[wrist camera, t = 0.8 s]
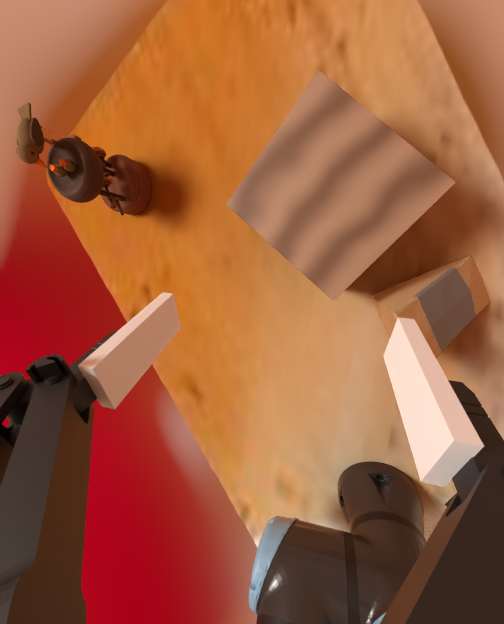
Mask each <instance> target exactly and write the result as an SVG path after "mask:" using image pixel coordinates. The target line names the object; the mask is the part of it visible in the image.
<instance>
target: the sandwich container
mask: <svg viewBox="0 0 504 624" xmlns="http://www.w3.org/2000/svg"><path fill="white" fill-rule="evenodd" d="M371 298H372V300H373V303H374V305H375V307H376V309H377V311H378V314H379V316H380V318H381V320H382V322H383V325H384V327H385V329H386V331H387V333H388V336H389V337H391V335H392V332H393V329H394V327H395V324H396V321H397V319H398V317H399V318H408V319H414V320H415V321H416V323H417V325H418V327H419V329H420V330H421V332H422V334H423V336H424V338H425V340H426V341H427V343H428V345H429V347H430V349H431V350H432V352H433V354H434V356H435V358H437V357H438V356H439V355H440V353H441V352H442V351H443V350H444V349H445V348H446V347H447V346H448V345H449V344H450V342H451V341H452V340H453V339H454V338H455V337H456V336H457V335H458V334H459V333H460V332H461V331H462V330H463V329H464V328H465V327H466V326H467V325H468V324H469V323H470V322H471V321H472V319H473V318H474V317H475V316H476V315H477V314H478V313H479V312H480V311H482V310H483V309H484V308H485V307H486V306H487V305H488V304H489V303H490V299H489V296H488V293H487V291H486V288H485V285H484V282H483V279H482V277H481V275H480V273H479V271H478V269H477V267H476V264H475V262H474V260H473V258H472V256H471V255H469V256H467V257H464V258H462V259H459V260H456V261H454V262H451V263H449V264H446V265H443V266H441V267H438V268H436V269H433V270H430V271H428V272H425V273H423V274H421V275H420V276H419V275H418V276H417V277H416V276H415V278H414V277H413V278H410V280H409V279H408V280H406V281H405V282H404V281H403V282H401V283H398V284H396V285H394V286H392V287H389V288H387V289H385V290H383V291H381V292H378V293H376V294H374V295H372V296H371Z"/></svg>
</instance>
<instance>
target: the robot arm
mask: <svg viewBox="0 0 504 624" xmlns="http://www.w3.org/2000/svg"><path fill="white" fill-rule="evenodd" d="M180 329H181V325H180V321H179V316H178V312H177V308H176V304H175V299H174V295H173V294H171V293H162V294H160V295H159V296H158V297H157V298H156V299H155V300H153V301H152V302H151V303H150V304H149V305H148V306H146V307H145V308H144V309H143V310H142V311H141V312H139V313H138V314H137V315H136V316H135V317H134V318H133V319H131V320H130V321H129V322H128V323H127V324H126V325H125V326H123V327H122V328H121V329H120V330H119V331H115V332H113V333H111V334H109V335H107V336H106V337H105V338H103V339H102V340H101V341H100V342H99V344H96V345H95V346H94V347H93V349H90V350H89V351H88V352H87V353H85V354H84V355H83V356H82V357H81V358H80V359H78V360H77V361H76V362H75V363H73V364H72V365H71V366H70V367H69V366H68V365H67V363H66V361H65V360H64V358H63V357H62V356H61V355H57V354H53V355H48V356H45V357H42V358H40V359H38V360H36V361H34V362H33V363H32V364H31V365H29V366H28V368H27V369H26V372H27V373H28V374H29V376H30V377H31V378H32V379H29V380H27V379H26V378H25V377H24V376H23V374H22V373H19V372H12V373H8V374H5V375H2V376H0V624H86V606H85V600H84V597H83V594H82V590H81V573H82V560H83V548H84V534H85V521H86V508H87V494H88V482H89V468H90V455H91V442H92V428H93V415H94V407H93V404H92V403H93V402H94V401H95V400H96V399H98V401H99V403H100V404H101V406H103V407H107V408H112V409H115V408H116V407H117V406H118V405H119V403H120V402H121V401H122V400H123V399H124V397H125V396H126V395H127V394H128V392H129V391H130V390H131V389H132V387H133V386H134V385H135V384H136V383H137V381H138V380H139V379H140V378H141V377H142V375H143V374H144V373H145V372H146V370H147V369H148V368H149V367H150V366H151V364H152V363H153V362H154V361H155V359H156V358H157V357H158V356H159V355H160V353H161V352H162V351H163V350H164V348H165V347H166V346H167V345H168V344H169V342H170V341H171V340H172V339H173V337H174V336H175V335H176V334H177V333H178V331H179V330H180ZM384 360H385V363H386V366H387V370H388V373H389V376H390V380H391V383H392V386H393V390H394V393H395V396H396V400H397V403H398V407H399V410H400V413H401V417H402V420H403V423H404V427H405V430H406V433H407V437H408V440H409V444H410V447H411V450H412V454H413V457H414V460H415V464H416V467H417V470H418V474H419V477H420V481H421V482H425V483H429V484H433V485H437V486H442V487H446V486H447V485H448V484H449V483H450V482H451V480H453V482H454V485H455V487H456V490H457V493H456V494H455V495H454V496H453V497H452V498H451V499H450V500H449V501H448V502H447V503H446V504H445V505H446V506H447V508H446V510H445V512H444V514H443V515H442V517H441V519H440V521H439V522H438V524H437V526H436V527H435V529H434V531H433V533H432V534H431V536H430V538H429V540H428V541H427V543H426V541H425V538H424V522H423V504H422V501H421V498H420V495H419V493H418V490H417V488H416V486H415V485H414V483H413V482H412V481H411V480H410V478H409V477H408V476H406V475H405V474H404V473H403V472H401V471H400V470H398V469H396V468H394V467H392V466H389V465H386V464H383V463H377V462H363V463H358V464H355V465H352V466H350V467H349V468H347V469H346V470H345V471H344V472H343V473H342V474H341V476H340V478H339V481H338V497H339V502H340V505H341V508H342V510H343V513H344V515H345V518H346V520H347V523H348V525H349V528H350V530H351V533H348V532H344V531H340V530H336V529H332V528H328V527H324V526H320V525H316V524H312V523H308V522H304V521H300V520H299V519H297V518H293V519H291V518H286V517H280V516H276V517H273V518H272V519H271V520H270V521H269V522H268V524H267V526H266V527H265V529H264V532H263V534H262V537H261V540H260V543H259V546H258V550H257V553H256V557H255V561H254V566H253V571H252V576H251V579H252V581H251V585H250V591H249V605H250V608H251V610H252V611H253V612H254V614H256V615H258V616H257V623H256V624H504V440H503V439H502V437H501V435H500V434H499V432H498V431H497V429H496V428H495V426H494V424H493V423H492V421H491V420H490V418H488V415H487V413H486V412H485V410H484V408H482V407H481V406H482V405H481V404H480V402H479V401H478V399H477V397H476V396H475V394H474V393H473V392H472V391H471V390H470V389H469V388H467V387H466V386H465V385H464V384H463V383H462V382H456V381H449V380H448V379H447V378H446V376H445V374H444V372H443V370H442V369H441V367H440V365H439V363H438V361H437V359H436V358H435V356H434V354H433V352H432V350H431V349H430V347H429V345H428V343H427V341H426V340H425V338H424V336H423V334H422V332H421V330H420V329H419V327H418V325H417V323H416V321H415V320H414V319H408V318H399V317H398V319H397V321H396V324H395V327H394V329H393V332H392V335H391V337H390V340H389V343H388V345H387V348H386V351H385V353H384ZM6 417H7V418H8V419H9V420H10V421H11V422H10V423H9V425H8V426H7V427H4V426H3V425H2V422H3V421H4V420H5V418H6Z"/></svg>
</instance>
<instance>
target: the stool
mask: <svg viewBox="0 0 504 624" xmlns="http://www.w3.org/2000/svg"><path fill="white" fill-rule="evenodd" d="M455 183H456V182H455V181H454V180H453V179H452V178H451V177H449V176H448V175H447V174H446V173H444V172H443V171H442V170H441V169H440V168H438V167H437V166H436V165H435V164H433V163H432V162H431V161H430V160H428V159H427V158H426V157H425V156H424V155H422V154H421V153H420V152H419V151H417V150H416V149H415V148H414V147H413V146H411V145H410V144H409V143H408V142H406V141H405V140H404V139H403V138H402V137H400V136H399V135H398V134H397V133H395V132H394V131H393V130H392V129H391V128H389V127H388V126H387V125H386V124H384V123H383V122H382V121H381V120H380V119H378V118H377V117H376V116H375V115H373V114H372V113H371V112H370V111H369V110H367V109H366V108H365V107H364V106H362V105H361V104H360V103H359V102H357V101H356V100H355V99H354V98H353V97H351V96H350V95H349V94H348V93H346V92H345V91H344V90H343V89H342V88H340V87H339V86H338V85H337V84H335V83H334V82H333V81H332V80H331V79H329V78H328V77H327V76H326V75H324V74H323V73H322V72H321V71H320V70H318V71H317V72H316V74H315V75H314V77H313V78H312V80H311V81H310V83H309V84H308V85H307V87H306V88H305V90H304V91H303V93H302V94H301V96H300V97H299V99H298V100H297V102H296V103H295V104H294V106H293V107H292V109H291V110H290V112H289V113H288V115H287V116H286V118H285V119H284V121H283V122H282V124H281V125H280V126H279V128H278V129H277V131H276V132H275V134H274V135H273V137H272V138H271V140H270V141H269V143H268V144H267V146H266V147H265V148H264V150H263V151H262V153H261V154H260V156H259V157H258V159H257V160H256V162H255V163H254V165H253V166H252V167H251V169H250V170H249V172H248V173H247V175H246V176H245V178H244V179H243V181H242V182H241V184H240V185H239V187H238V188H237V189H236V191H235V192H234V194H233V195H232V197H231V198H230V200H229V201H228V203H227V204H226V205H227V206H228V207H229V208H231V209H232V210H233V211H234V212H235V213H236V214H237V215H238V216H239V217H241V218H242V219H243V220H244V221H245V222H246V223H247V224H248V225H249V226H251V227H252V228H253V229H254V230H255V231H256V232H257V233H258V234H260V235H261V236H262V237H263V238H264V239H265V240H266V241H267V242H268V243H270V244H271V245H272V246H273V247H274V248H275V249H276V250H277V251H278V252H280V253H281V254H282V255H283V256H284V257H285V258H286V259H287V260H288V261H290V262H291V263H292V264H293V265H294V266H295V267H296V268H297V269H298V270H300V271H301V272H302V273H303V274H304V275H305V276H306V277H307V278H308V279H310V280H311V281H312V282H313V283H314V284H315V285H316V286H317V287H318V288H320V289H321V290H322V291H323V292H324V293H325V294H326V295H327V296H328V297H330V298H331V299H332V300H333V301H334V300H335V299H336V298H337V297H338V296H339V295H340V294H341V293H342V292H343V291H344V290H345V289H346V288H347V287H349V286H350V285H351V284H352V283H353V282H354V281H355V280H356V279H357V278H358V277H359V276H360V275H361V274H362V273H363V272H364V271H365V270H366V269H367V268H368V267H369V266H370V265H371V264H372V263H373V262H374V261H375V260H376V259H377V258H378V257H379V256H380V255H381V254H383V253H384V252H385V251H386V250H387V249H388V248H389V247H390V246H391V245H392V244H393V243H394V242H395V241H396V240H397V239H398V238H399V237H400V236H401V235H402V234H403V233H404V232H405V231H406V230H407V229H408V228H409V227H410V226H411V225H412V224H413V223H414V222H415V221H417V220H418V219H419V218H420V217H421V216H422V215H423V214H424V213H425V212H426V211H427V210H428V209H429V208H430V207H431V206H432V205H433V204H434V203H435V202H436V201H437V200H438V199H439V198H440V197H441V196H442V195H443V194H444V193H445V192H446V191H447V190H448V189H449V188H451V187H452V186H453V185H454V184H455Z"/></svg>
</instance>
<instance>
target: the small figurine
mask: <svg viewBox="0 0 504 624" xmlns="http://www.w3.org/2000/svg"><path fill="white" fill-rule="evenodd" d="M18 112H19V114H20V117H21V119H22V120H21V122H20V124H19V126H18V130H17V145H18V146H17V148H16V152H17V155H18V156H19V158H20V159H21V160H23V161H24V162H26V163H29V164H34V163H36V164H38V165H40V166H43V167H46V168H47V169H48V174H49V177H50V180H51V182H52V184H53V185H54V187H55V188H56V190H57V191H58V192H59V193H60V194H61V195H63V196H64V197H65V198H67V199H69V200H71V201H74V202H80V203H83V202H89V201H91V200H93V199H94V198H96V197H97V196H98V195H99V194H100V195H101V196H102V198H103V200H104V202H105V203H106V204H107V206H109V207H110V208H111V209H112V210H114V211H117V212H120V213H121V215H124V213H126V214H130V215H135V214H138V213H140V212H142V211H143V210H144V209H145V208H146V207H147V205H148V204H149V202H150V199H151V194H152V185H151V180H150V177H149V174H148V172H147V171H146V169H145V168H144V167H143V166H142V165H141V164H139V163H138V162H136V161H134V160H132V159H130V158H128V157H126V156H124V155H113V156H111V157H109V158H108V159H107V160H106V161H105V160H104V159H105V158H104V157H105V156H106V153H105V151H104V150H103V149H101V148H98V147H90V146H89V145H88V144H86V143H85V142H83V141H81V138H79V137H77V136H75V135H71V138H65V137H63V136H62V137H63V139H60V140H58V141H55V140H53V139H51V140H49V139H46V138H44V137H43V133H42V130H41V128H43V126H41V125H40V124H39V122H38V120H37V119H36V118H32V120H31V104H30V103H27V104H25V105H23V106H22V107H20V108H19V109H18ZM44 129H46V128H44ZM46 130H48V129H46ZM48 131H50V130H48ZM51 132H52V131H51ZM53 133H54V132H53ZM55 134H57V133H55ZM57 135H59V134H57ZM59 136H61V135H59ZM44 141H45V142H47V143H50V145H51V146H52V147H51V149H50V151H49V154H48V158H47V166H46V165H45V164H44V162H43V161H42V160H41V159H40V158H39V154H40V153H42V151H43V148H44V147H43V145H44Z"/></svg>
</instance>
